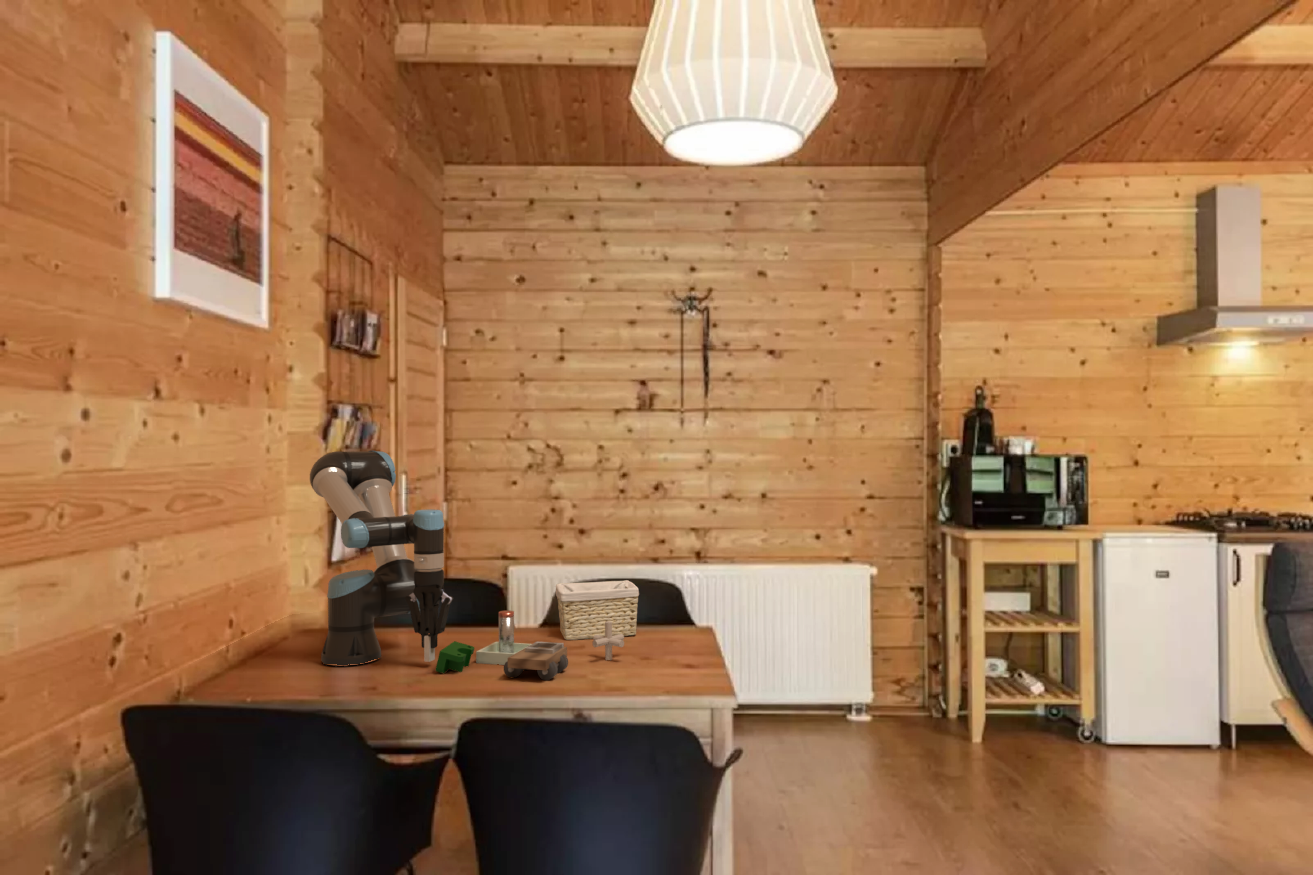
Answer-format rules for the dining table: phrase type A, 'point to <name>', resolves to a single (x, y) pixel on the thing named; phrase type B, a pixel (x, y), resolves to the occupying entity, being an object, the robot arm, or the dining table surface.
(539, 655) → the trolley
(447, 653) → the clamp
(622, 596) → the storage basket
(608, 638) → the pipe connector
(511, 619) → the pin
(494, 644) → the tray
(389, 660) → the dining table surface
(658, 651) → the dining table surface
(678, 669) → the dining table surface
